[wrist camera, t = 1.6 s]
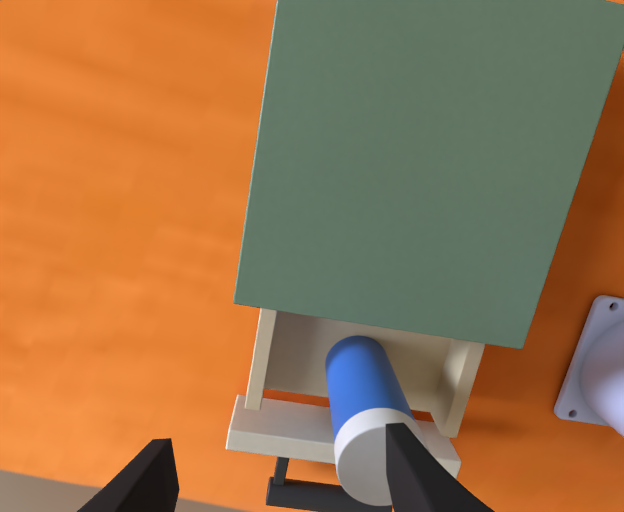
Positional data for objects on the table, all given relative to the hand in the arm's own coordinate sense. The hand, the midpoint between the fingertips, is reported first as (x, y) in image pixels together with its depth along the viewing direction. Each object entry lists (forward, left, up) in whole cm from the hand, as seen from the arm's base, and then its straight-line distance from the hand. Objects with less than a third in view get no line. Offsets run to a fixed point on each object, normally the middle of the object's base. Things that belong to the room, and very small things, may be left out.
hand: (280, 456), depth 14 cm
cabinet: (-4, -10, -10) cm, 15 cm away
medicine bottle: (-4, +1, -8) cm, 9 cm away
